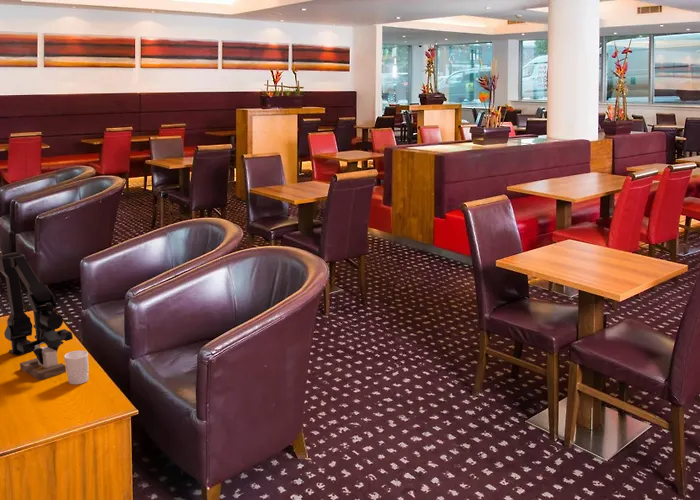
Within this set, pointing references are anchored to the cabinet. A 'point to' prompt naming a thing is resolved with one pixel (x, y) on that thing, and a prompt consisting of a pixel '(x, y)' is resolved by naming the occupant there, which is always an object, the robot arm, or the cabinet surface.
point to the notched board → (41, 374)
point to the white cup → (77, 366)
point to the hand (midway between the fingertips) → (47, 362)
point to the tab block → (48, 357)
